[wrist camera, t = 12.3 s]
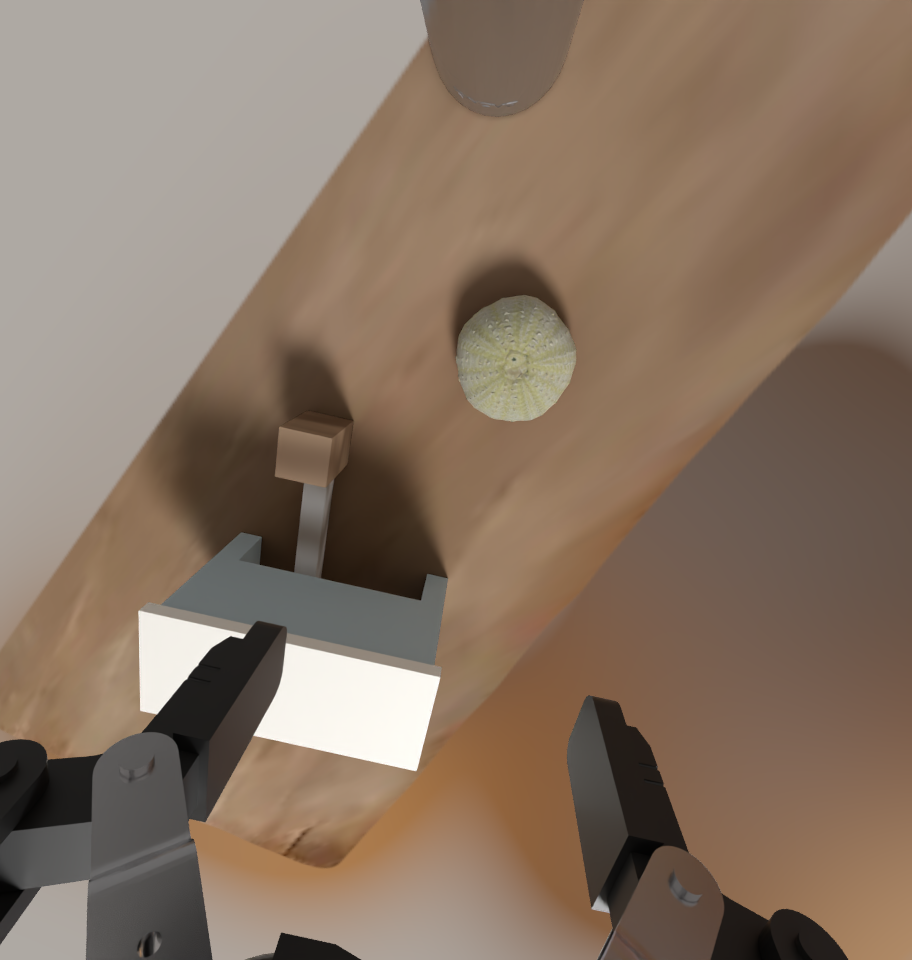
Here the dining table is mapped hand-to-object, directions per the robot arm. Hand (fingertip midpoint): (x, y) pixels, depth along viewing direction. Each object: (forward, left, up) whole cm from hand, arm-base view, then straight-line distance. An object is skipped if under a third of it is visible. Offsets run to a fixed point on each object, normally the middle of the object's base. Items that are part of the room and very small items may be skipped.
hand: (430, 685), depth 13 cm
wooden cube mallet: (+10, -12, -30) cm, 34 cm away
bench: (+19, -9, -30) cm, 37 cm away
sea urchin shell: (-6, +2, -30) cm, 31 cm away
